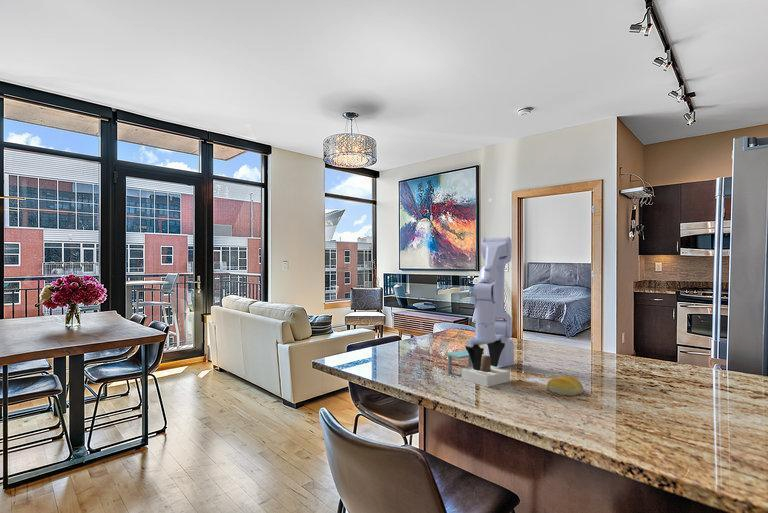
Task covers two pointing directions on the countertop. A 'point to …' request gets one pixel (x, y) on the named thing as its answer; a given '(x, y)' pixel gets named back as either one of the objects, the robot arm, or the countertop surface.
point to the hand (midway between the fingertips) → (485, 367)
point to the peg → (486, 363)
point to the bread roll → (565, 386)
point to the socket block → (486, 376)
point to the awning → (458, 355)
